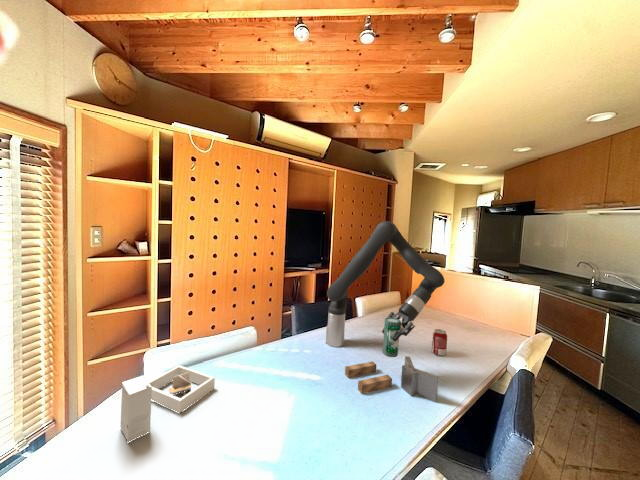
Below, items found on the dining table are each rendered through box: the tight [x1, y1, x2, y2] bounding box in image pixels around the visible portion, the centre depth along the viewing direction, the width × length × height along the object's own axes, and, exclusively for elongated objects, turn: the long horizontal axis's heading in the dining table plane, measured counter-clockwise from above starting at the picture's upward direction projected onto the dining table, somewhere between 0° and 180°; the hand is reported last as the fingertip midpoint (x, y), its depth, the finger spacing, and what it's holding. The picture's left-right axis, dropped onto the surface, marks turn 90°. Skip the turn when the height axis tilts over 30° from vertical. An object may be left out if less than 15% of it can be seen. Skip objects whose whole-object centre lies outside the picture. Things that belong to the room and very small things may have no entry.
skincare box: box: [119, 375, 152, 443], centre depth 78 cm, size 8×6×15 cm
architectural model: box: [168, 373, 192, 395], centre depth 95 cm, size 3×7×7 cm, turn 128°
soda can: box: [431, 328, 448, 357], centre depth 135 cm, size 7×7×12 cm
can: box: [382, 316, 400, 358], centre depth 113 cm, size 6×6×15 cm
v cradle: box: [400, 355, 439, 403], centre depth 104 cm, size 8×18×9 cm, turn 22°
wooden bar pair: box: [344, 360, 393, 395], centre depth 109 cm, size 14×14×4 cm
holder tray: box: [148, 364, 216, 413], centre depth 97 cm, size 19×15×4 cm
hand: (388, 336), depth 112 cm, fingers closed on can, 6 cm apart
